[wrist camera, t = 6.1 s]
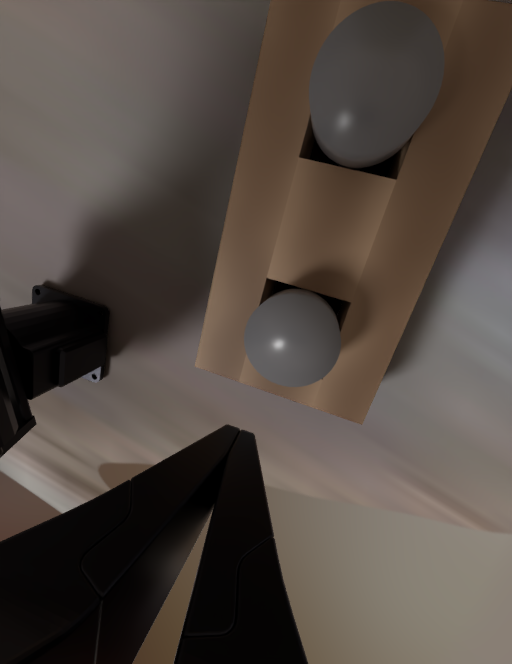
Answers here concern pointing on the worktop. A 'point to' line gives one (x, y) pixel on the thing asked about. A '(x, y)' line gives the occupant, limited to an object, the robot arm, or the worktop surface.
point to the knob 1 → (293, 338)
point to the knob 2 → (374, 83)
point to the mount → (348, 198)
